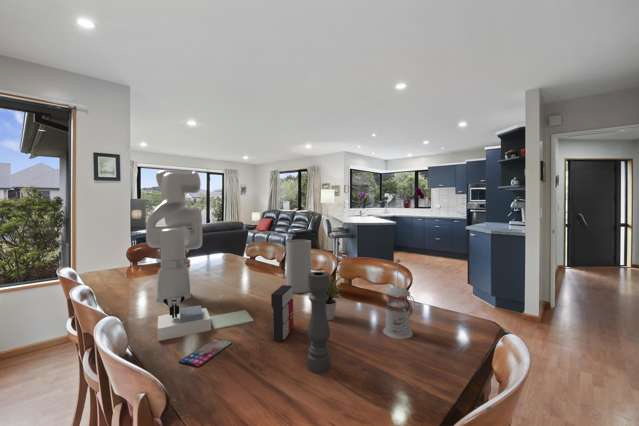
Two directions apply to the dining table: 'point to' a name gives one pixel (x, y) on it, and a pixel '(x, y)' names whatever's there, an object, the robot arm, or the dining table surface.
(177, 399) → the dining table surface
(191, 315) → the tile
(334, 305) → the house plant
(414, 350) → the dining table surface
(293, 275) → the cylinder vase
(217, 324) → the mat
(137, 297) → the dining table surface
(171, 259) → the robot arm
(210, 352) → the smartphone
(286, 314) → the dark grey box
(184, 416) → the dining table surface
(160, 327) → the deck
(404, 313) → the french press
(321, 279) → the candle holder
